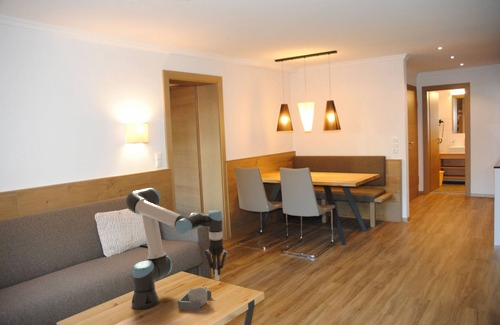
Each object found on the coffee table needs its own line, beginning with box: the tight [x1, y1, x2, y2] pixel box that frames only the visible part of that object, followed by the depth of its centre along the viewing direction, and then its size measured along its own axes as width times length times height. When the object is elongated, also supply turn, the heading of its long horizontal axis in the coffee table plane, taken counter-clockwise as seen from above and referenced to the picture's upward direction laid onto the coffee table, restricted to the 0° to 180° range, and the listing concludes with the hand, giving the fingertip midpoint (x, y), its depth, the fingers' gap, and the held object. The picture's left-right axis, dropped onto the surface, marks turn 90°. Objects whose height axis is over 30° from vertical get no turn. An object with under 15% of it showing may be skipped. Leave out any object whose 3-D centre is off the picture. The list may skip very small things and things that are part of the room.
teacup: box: [187, 286, 208, 307], centre depth 229 cm, size 14×11×8 cm
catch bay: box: [177, 288, 212, 312], centre depth 230 cm, size 13×18×4 cm
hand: (217, 280), depth 225 cm, fingers closed
